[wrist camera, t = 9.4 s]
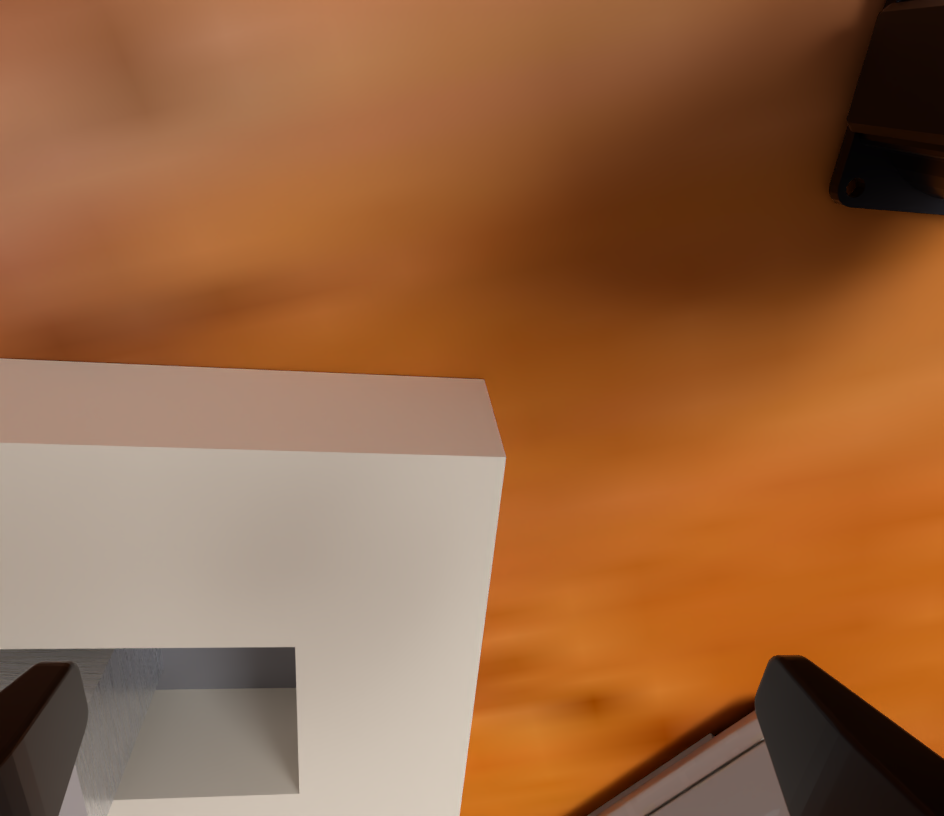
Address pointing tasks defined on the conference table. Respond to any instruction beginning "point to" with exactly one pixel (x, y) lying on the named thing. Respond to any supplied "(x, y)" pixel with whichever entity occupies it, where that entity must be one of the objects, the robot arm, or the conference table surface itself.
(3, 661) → the light grey rectangular block
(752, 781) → the digital clock
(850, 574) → the conference table surface
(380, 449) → the slot board
